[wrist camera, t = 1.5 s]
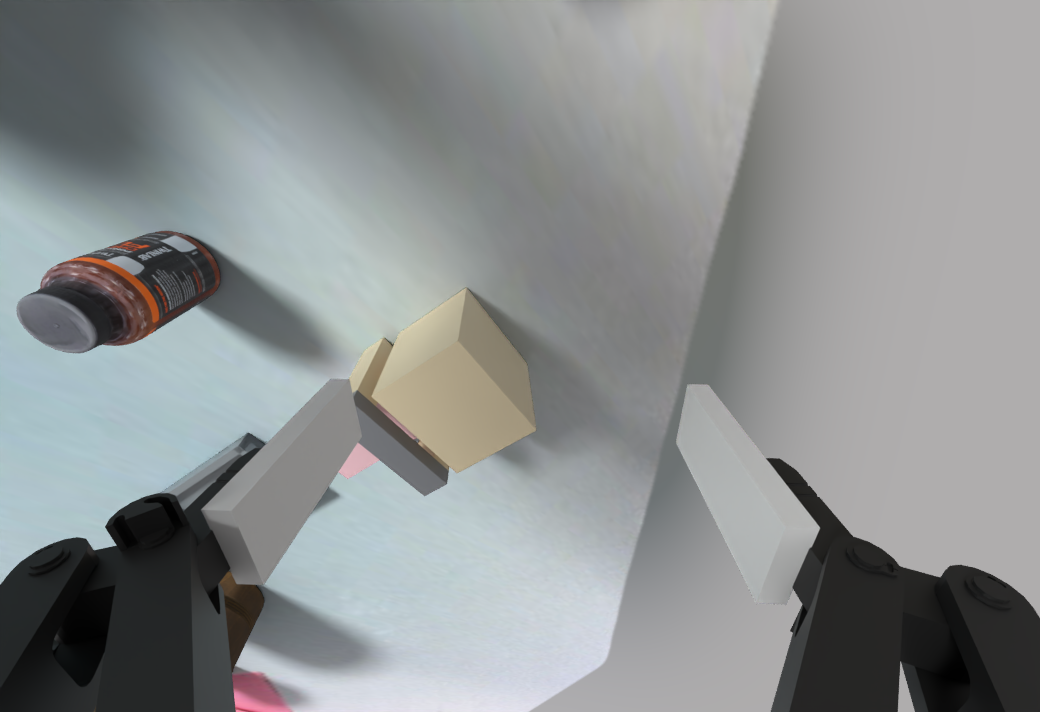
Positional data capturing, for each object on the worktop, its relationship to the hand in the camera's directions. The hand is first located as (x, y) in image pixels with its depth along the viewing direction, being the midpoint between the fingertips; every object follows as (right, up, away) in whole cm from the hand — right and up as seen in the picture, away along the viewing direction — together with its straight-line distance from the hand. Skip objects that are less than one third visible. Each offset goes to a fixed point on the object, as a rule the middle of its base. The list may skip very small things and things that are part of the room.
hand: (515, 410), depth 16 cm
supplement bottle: (-28, +10, +18) cm, 34 cm away
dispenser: (-8, +1, +24) cm, 25 cm away
